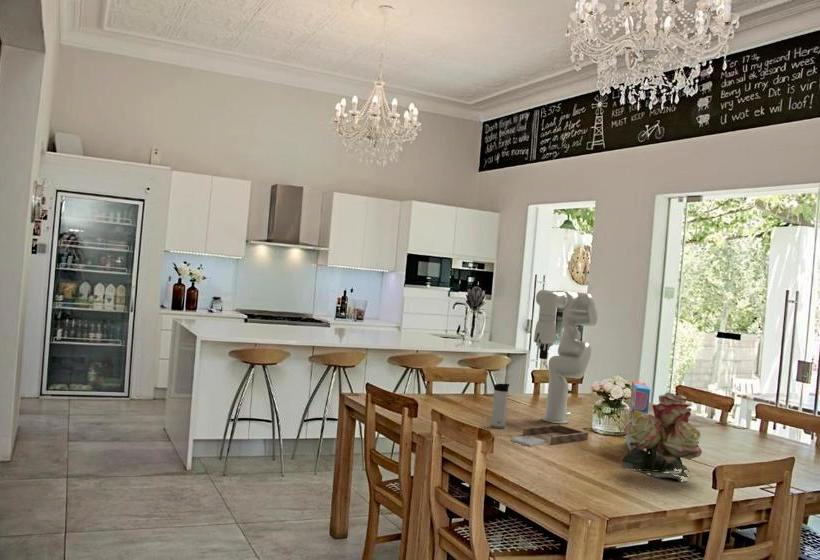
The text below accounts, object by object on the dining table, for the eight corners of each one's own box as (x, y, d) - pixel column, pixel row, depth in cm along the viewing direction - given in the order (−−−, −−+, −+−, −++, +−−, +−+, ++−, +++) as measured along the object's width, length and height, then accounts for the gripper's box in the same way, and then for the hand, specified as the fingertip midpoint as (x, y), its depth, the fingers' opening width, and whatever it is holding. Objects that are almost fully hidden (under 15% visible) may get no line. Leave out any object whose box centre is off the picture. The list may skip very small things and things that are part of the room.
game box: (643, 455, 306) (650, 389, 305) (630, 453, 307) (636, 387, 306) (638, 444, 326) (644, 382, 325) (625, 442, 327) (632, 381, 326)
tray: (557, 432, 335) (558, 424, 334) (587, 440, 322) (588, 432, 322) (522, 436, 319) (523, 428, 319) (552, 445, 307) (553, 437, 307)
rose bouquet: (613, 468, 279) (621, 389, 279) (649, 458, 300) (657, 385, 300) (679, 487, 262) (687, 402, 261) (712, 475, 282) (721, 397, 282)
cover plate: (527, 440, 316) (527, 435, 316) (547, 445, 309) (547, 440, 309) (510, 443, 307) (510, 438, 307) (529, 448, 300) (530, 443, 300)
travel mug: (500, 429, 329) (505, 384, 329) (488, 426, 333) (492, 382, 333) (507, 428, 334) (512, 383, 334) (495, 425, 338) (499, 381, 338)
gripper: (550, 317, 345) (546, 357, 346) (529, 317, 335) (526, 357, 336) (563, 319, 340) (559, 359, 340) (543, 319, 330) (539, 360, 330)
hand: (543, 358), depth 338 cm, fingers closed
